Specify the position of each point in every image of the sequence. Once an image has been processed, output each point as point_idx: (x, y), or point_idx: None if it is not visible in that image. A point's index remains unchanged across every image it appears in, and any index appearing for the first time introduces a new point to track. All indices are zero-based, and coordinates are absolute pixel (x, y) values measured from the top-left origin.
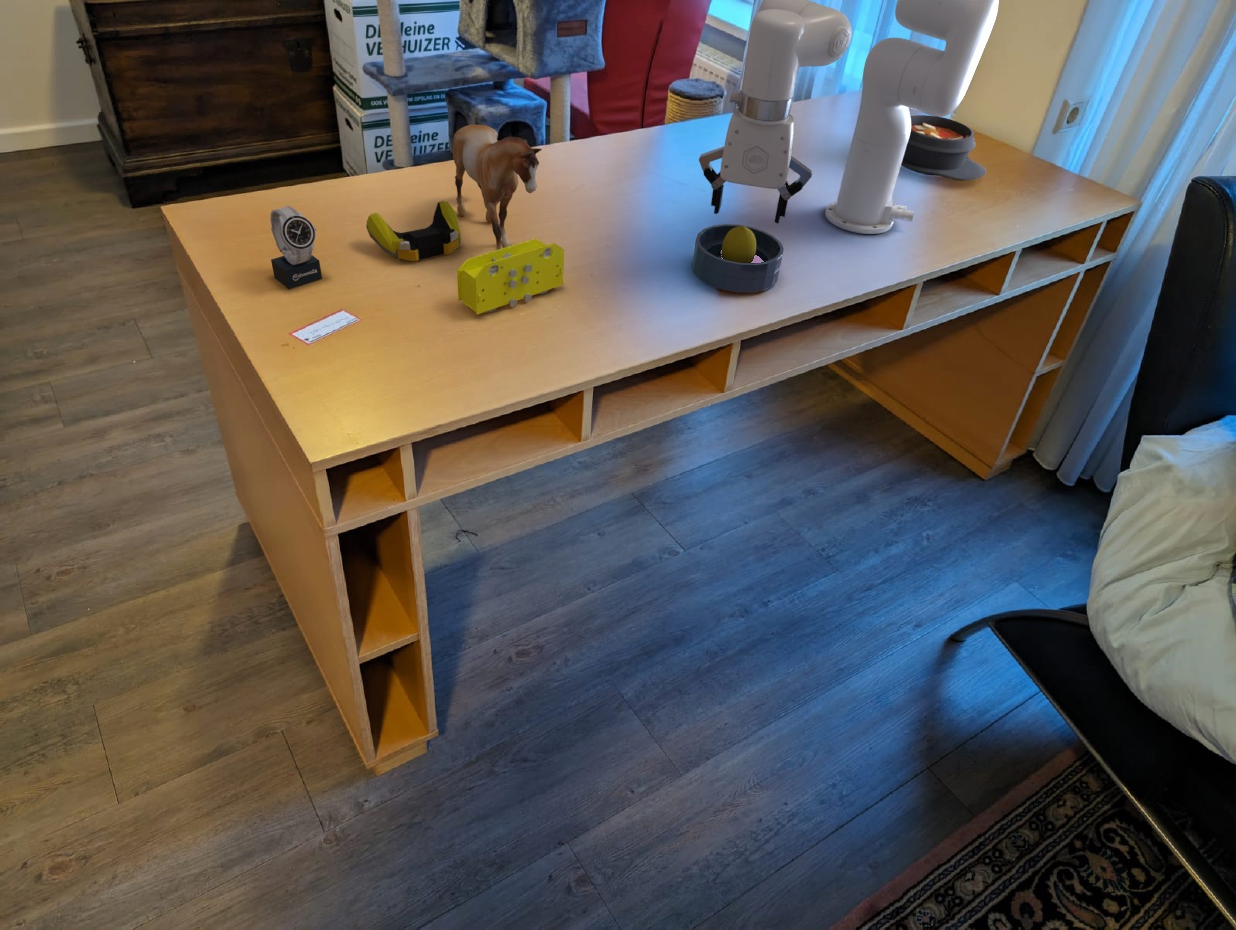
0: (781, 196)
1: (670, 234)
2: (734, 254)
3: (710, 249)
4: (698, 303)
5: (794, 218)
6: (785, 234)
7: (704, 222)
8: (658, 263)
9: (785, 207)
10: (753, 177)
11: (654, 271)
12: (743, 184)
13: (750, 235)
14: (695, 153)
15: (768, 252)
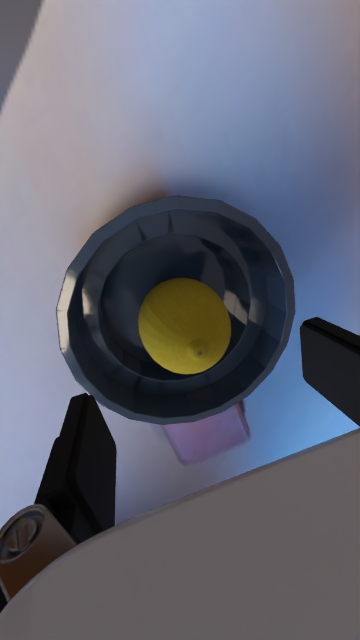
0: (69, 518)
1: None
2: (180, 281)
3: (243, 322)
4: (190, 116)
5: None
6: (149, 482)
7: (277, 430)
8: (314, 249)
9: (47, 471)
10: (339, 546)
11: (315, 211)
12: (341, 436)
13: (164, 339)
14: None
15: (127, 380)
